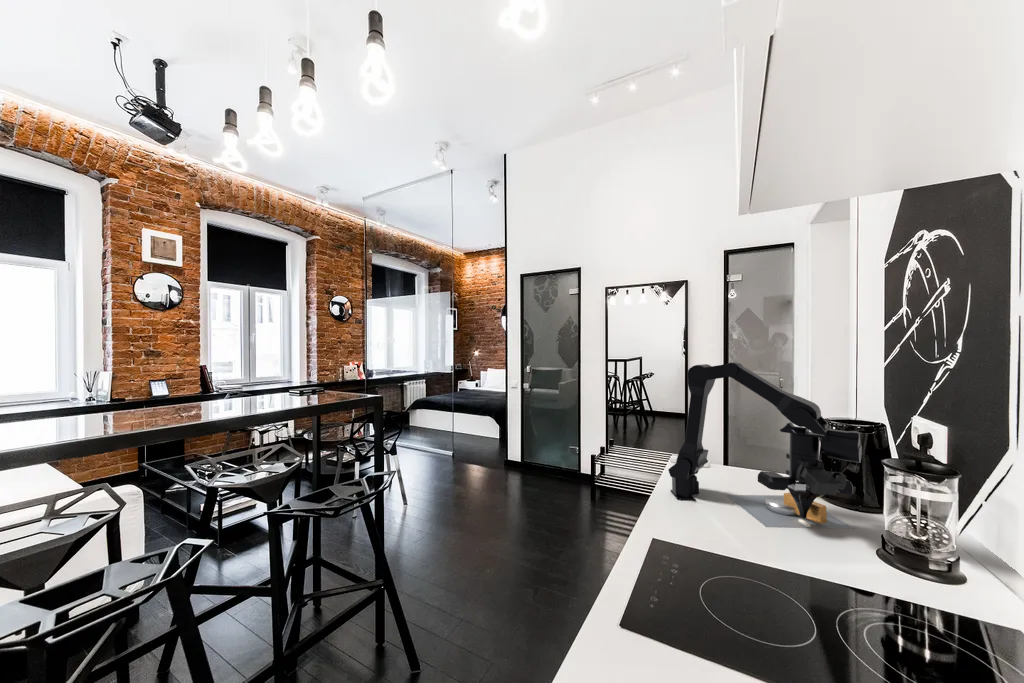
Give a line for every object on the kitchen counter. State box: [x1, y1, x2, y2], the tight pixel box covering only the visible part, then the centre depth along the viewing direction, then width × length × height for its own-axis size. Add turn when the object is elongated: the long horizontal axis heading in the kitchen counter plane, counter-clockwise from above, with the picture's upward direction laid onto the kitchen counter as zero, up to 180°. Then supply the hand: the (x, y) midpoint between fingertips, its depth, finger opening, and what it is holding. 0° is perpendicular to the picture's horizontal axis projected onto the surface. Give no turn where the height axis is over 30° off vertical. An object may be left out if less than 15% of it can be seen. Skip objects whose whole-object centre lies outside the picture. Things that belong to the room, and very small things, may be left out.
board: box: [726, 494, 856, 529], centre depth 101 cm, size 20×20×2 cm
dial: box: [765, 492, 827, 524], centre depth 98 cm, size 14×8×5 cm, turn 16°
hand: (803, 517), depth 93 cm, fingers closed
